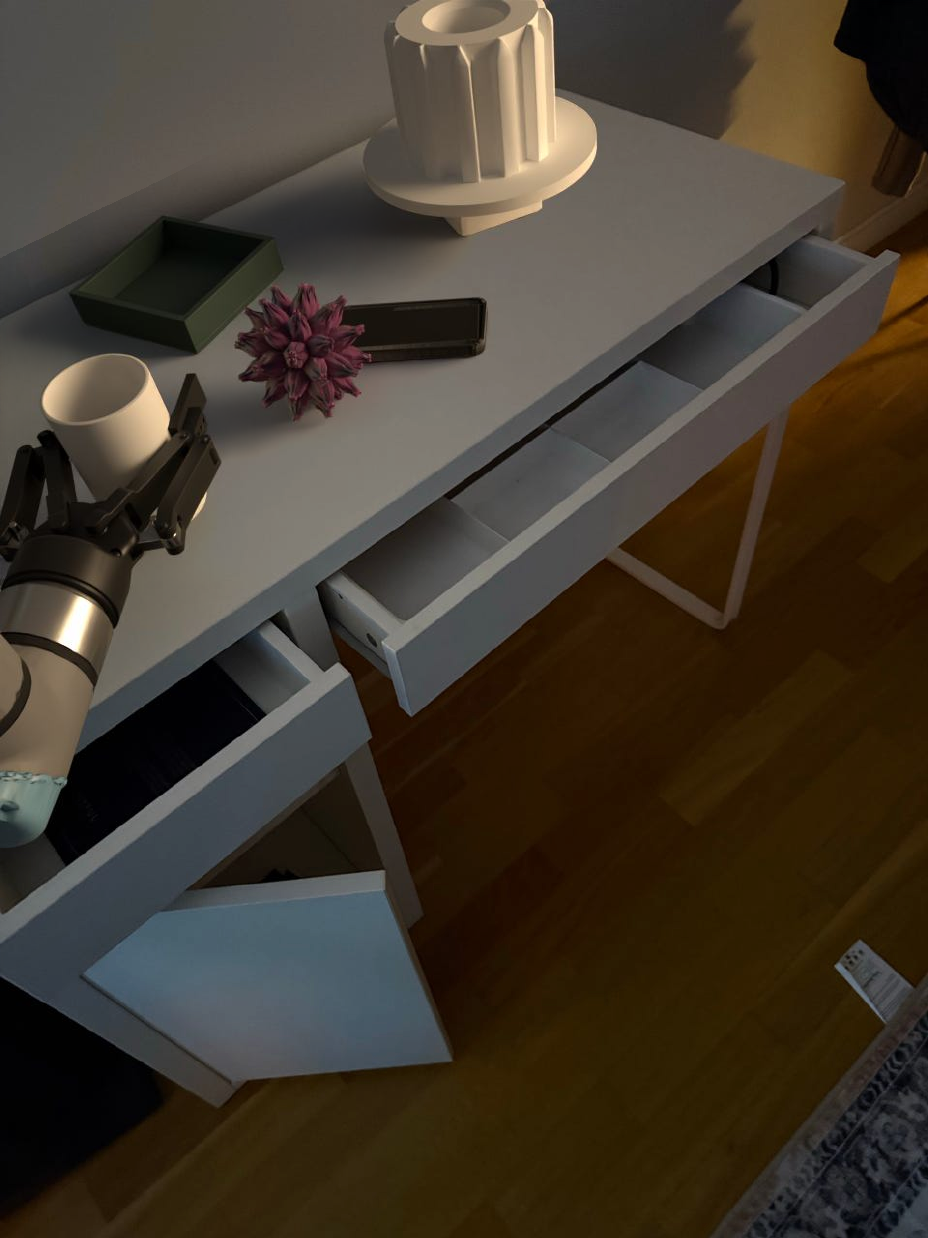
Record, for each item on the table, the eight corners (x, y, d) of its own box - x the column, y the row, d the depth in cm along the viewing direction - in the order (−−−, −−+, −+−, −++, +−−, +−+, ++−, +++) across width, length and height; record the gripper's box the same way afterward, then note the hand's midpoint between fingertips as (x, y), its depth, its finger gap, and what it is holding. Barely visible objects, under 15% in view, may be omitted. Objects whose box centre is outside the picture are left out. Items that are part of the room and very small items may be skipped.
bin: (84, 324, 96) (67, 292, 93) (174, 246, 104) (162, 214, 101) (197, 354, 90) (184, 321, 87) (284, 269, 98) (275, 236, 95)
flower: (362, 456, 81) (228, 442, 80) (376, 367, 88) (253, 353, 87) (363, 353, 71) (211, 335, 71) (379, 261, 78) (240, 245, 77)
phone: (483, 345, 84) (326, 353, 86) (484, 355, 85) (329, 363, 87) (487, 295, 89) (338, 304, 91) (488, 305, 90) (341, 314, 92)
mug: (133, 443, 80) (72, 327, 70) (226, 440, 79) (177, 321, 69) (91, 543, 73) (18, 429, 63) (193, 541, 72) (133, 425, 62)
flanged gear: (532, 129, 111) (523, -54, 96) (639, 218, 97) (648, 18, 82) (344, 192, 107) (304, 10, 92) (426, 295, 92) (394, 99, 77)
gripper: (-56, 649, 64) (46, 431, 78) (227, 641, 62) (282, 418, 75) (-122, 582, 58) (2, 359, 72) (188, 571, 56) (255, 342, 69)
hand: (145, 390), depth 73 cm, fingers closed on mug, 8 cm apart
